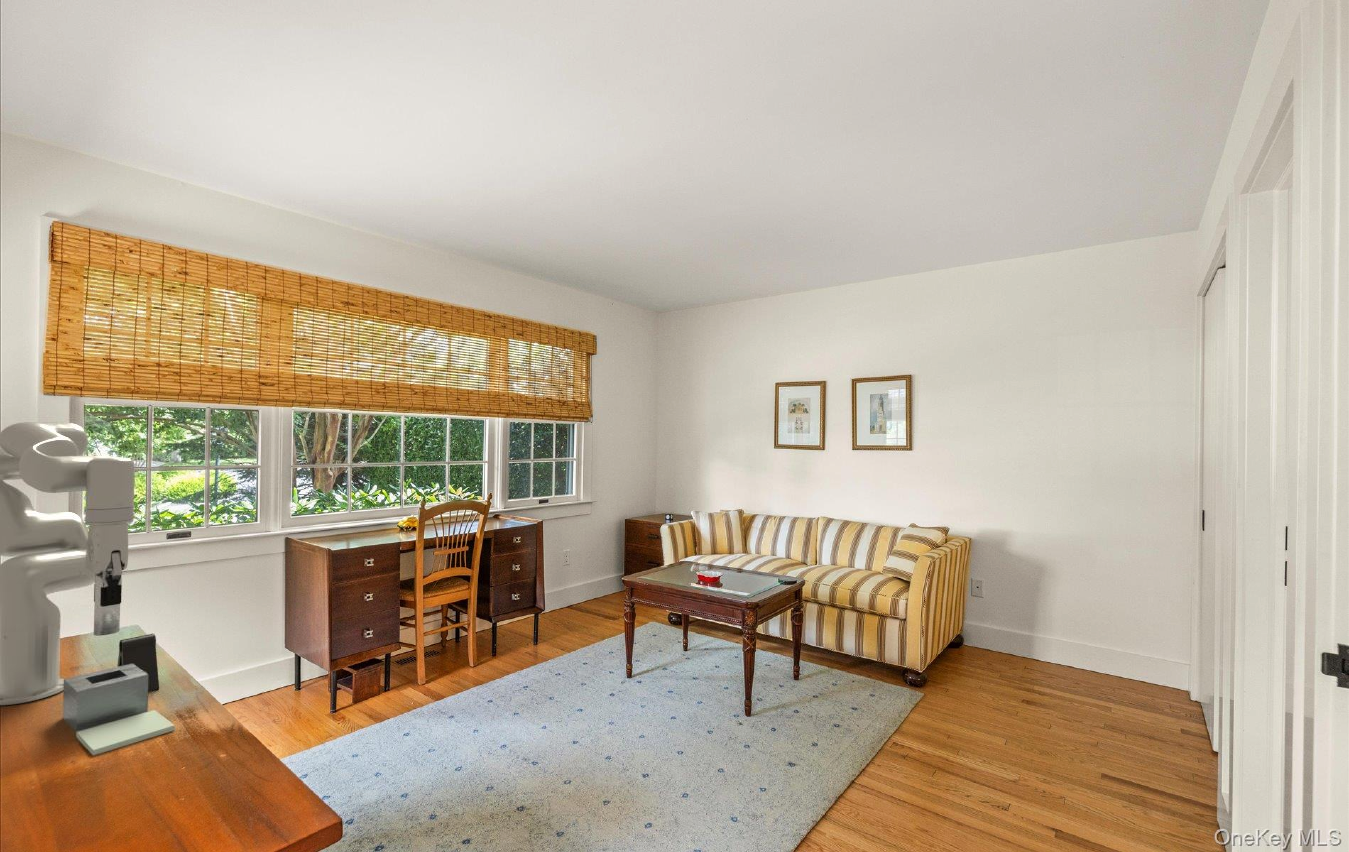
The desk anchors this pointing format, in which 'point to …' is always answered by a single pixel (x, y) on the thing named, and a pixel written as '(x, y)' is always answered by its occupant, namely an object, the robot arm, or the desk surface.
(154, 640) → the phone stand
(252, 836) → the desk surface
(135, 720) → the mat
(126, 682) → the chuck block
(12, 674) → the robot arm
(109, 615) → the grey metal cylinder
